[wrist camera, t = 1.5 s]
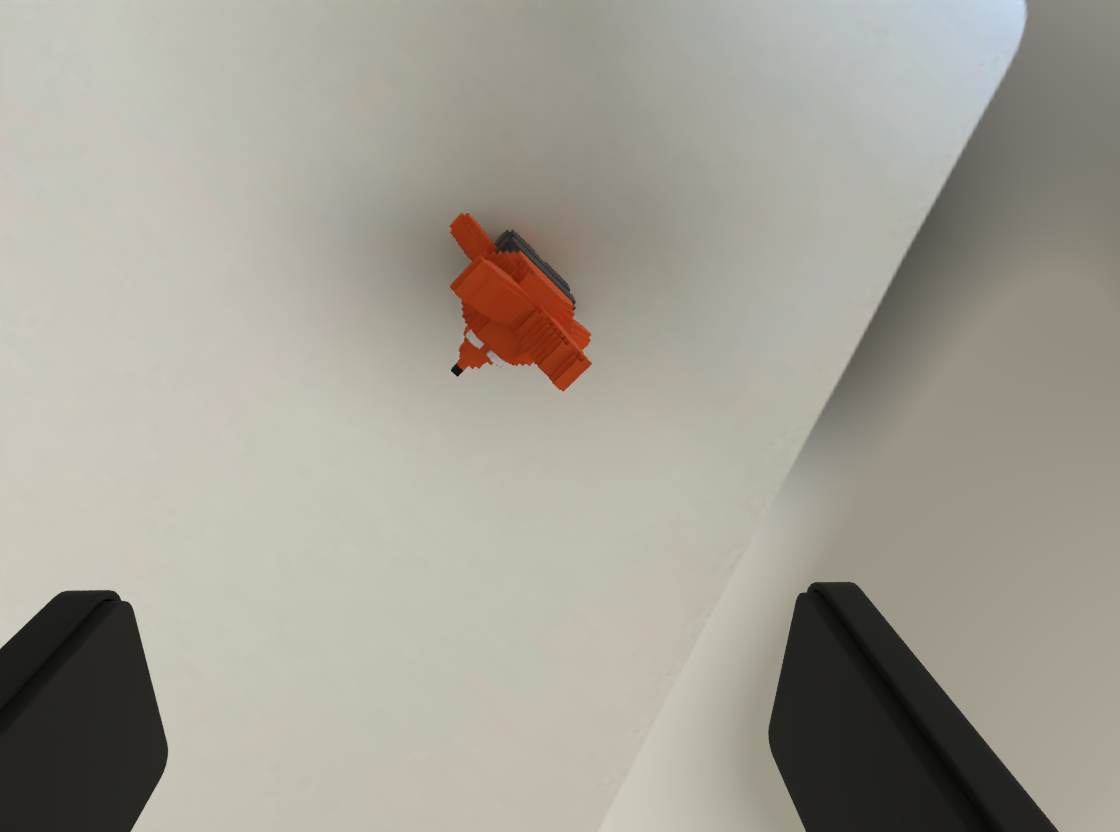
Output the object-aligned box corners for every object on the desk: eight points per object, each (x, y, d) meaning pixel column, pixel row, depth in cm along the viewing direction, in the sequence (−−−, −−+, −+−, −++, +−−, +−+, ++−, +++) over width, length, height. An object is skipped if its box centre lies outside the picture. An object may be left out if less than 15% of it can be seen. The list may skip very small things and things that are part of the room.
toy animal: (408, 270, 33) (356, 331, 22) (480, 191, 32) (464, 212, 21) (521, 372, 35) (526, 473, 24) (592, 302, 34) (631, 374, 23)
